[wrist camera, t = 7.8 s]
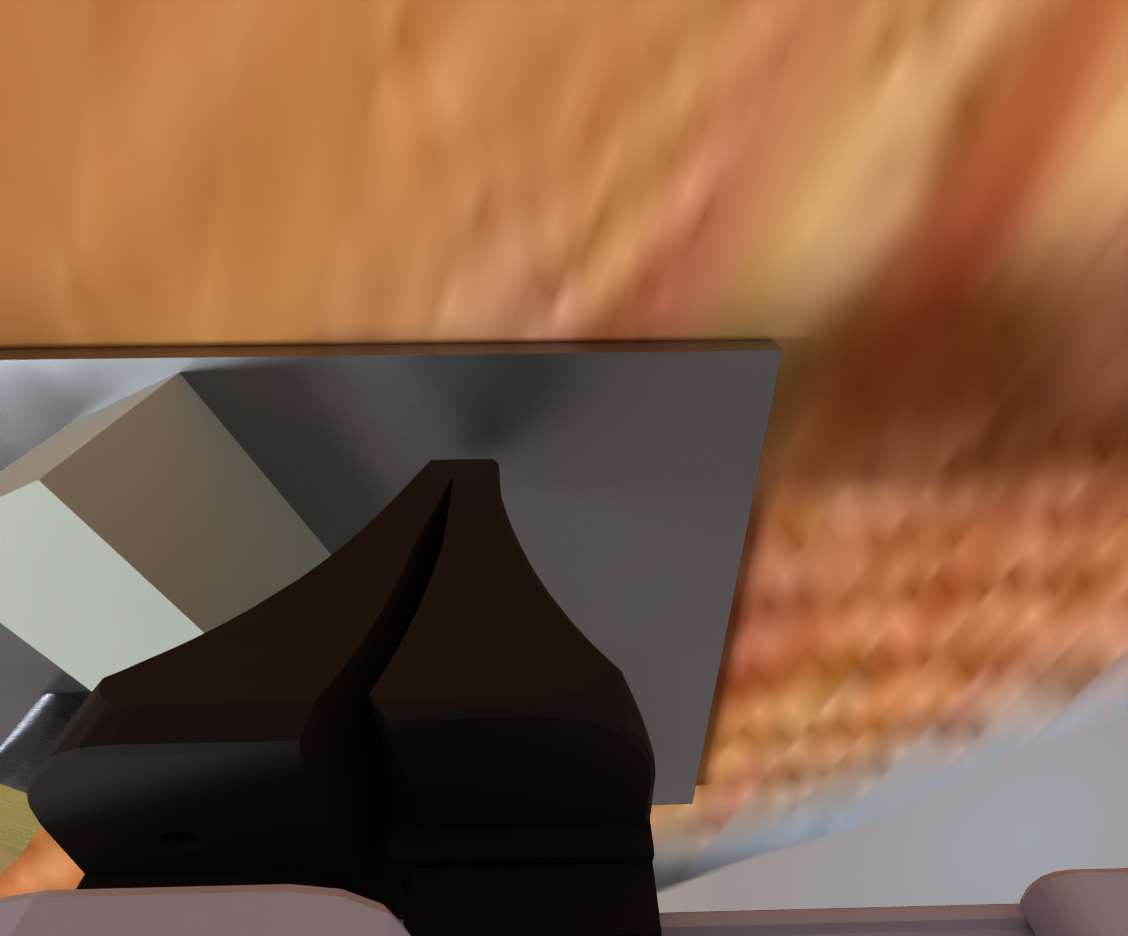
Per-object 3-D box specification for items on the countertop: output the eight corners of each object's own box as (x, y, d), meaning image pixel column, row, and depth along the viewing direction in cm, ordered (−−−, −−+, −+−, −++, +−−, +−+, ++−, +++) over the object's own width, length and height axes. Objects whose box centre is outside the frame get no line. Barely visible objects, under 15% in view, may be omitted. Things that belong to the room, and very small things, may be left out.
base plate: (688, 787, 22) (692, 804, 21) (21, 802, 21) (9, 820, 21) (774, 339, 13) (782, 350, 12) (-378, 354, 12) (-417, 365, 12)
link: (557, 766, 20) (558, 904, 17) (400, 807, 21) (372, 944, 18) (238, 344, 12) (116, 444, 9) (15, 448, 13) (-170, 573, 10)
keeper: (189, 618, 17) (25, 858, 12) (94, 716, 19) (-80, 955, 14) (132, 588, 16) (-68, 828, 11) (41, 693, 18) (-162, 935, 13)
